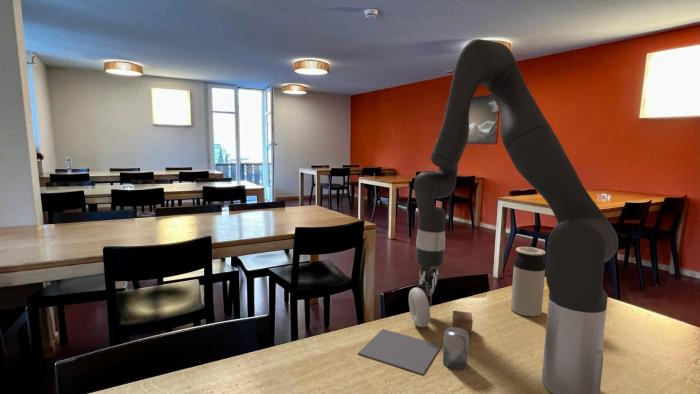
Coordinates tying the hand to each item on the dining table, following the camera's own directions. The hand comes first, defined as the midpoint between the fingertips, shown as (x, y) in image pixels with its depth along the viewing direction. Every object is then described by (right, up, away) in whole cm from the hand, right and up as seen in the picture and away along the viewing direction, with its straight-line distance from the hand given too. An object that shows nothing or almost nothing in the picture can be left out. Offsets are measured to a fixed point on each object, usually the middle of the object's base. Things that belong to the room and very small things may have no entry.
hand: (426, 306), depth 102 cm
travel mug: (+29, -3, +4) cm, 29 cm away
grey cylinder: (+1, -5, -23) cm, 24 cm away
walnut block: (+7, -4, -9) cm, 12 cm away
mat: (-10, -5, -18) cm, 21 cm away
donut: (-3, -3, -6) cm, 7 cm away
